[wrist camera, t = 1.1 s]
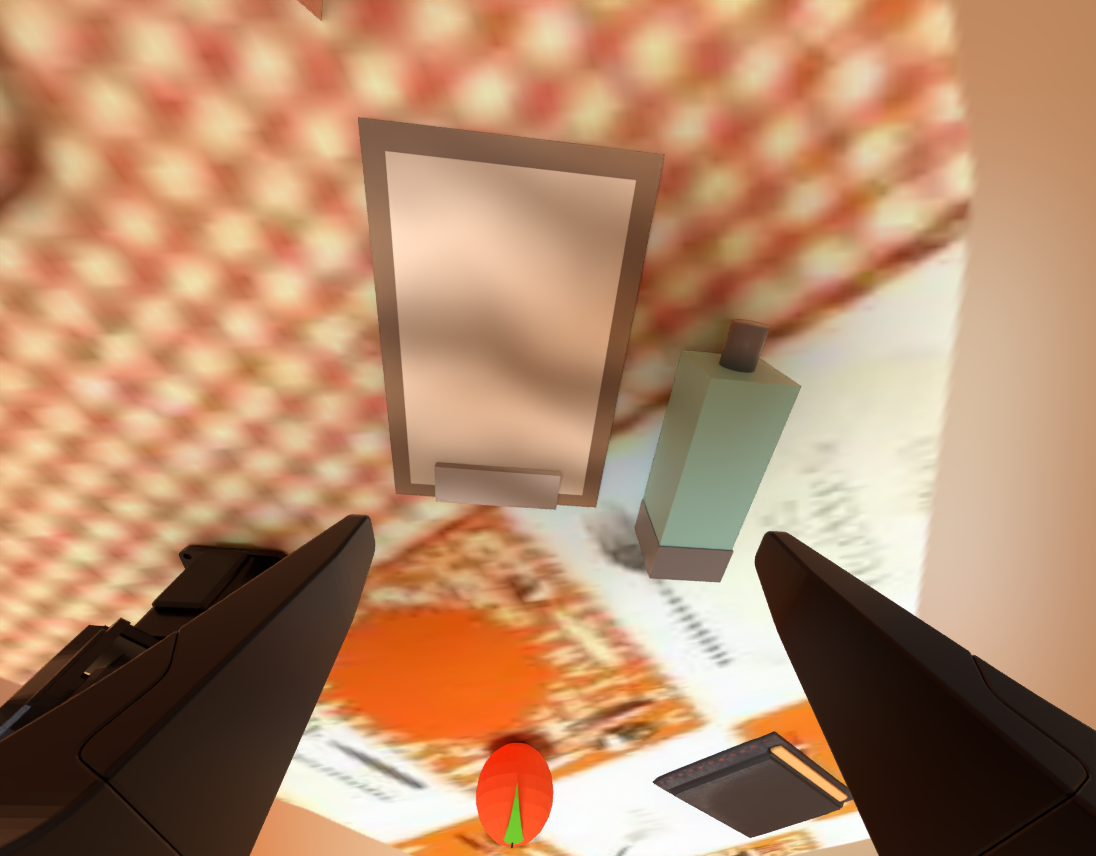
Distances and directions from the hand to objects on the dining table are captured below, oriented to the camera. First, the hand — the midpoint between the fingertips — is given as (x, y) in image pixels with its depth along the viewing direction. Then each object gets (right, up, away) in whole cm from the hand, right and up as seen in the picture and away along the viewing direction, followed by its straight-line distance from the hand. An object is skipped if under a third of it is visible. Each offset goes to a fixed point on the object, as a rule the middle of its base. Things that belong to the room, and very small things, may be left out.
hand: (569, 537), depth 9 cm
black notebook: (+23, -37, +36) cm, 56 cm away
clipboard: (-3, +6, +11) cm, 13 cm away
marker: (+8, +1, +14) cm, 16 cm away
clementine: (-3, -28, +30) cm, 41 cm away
